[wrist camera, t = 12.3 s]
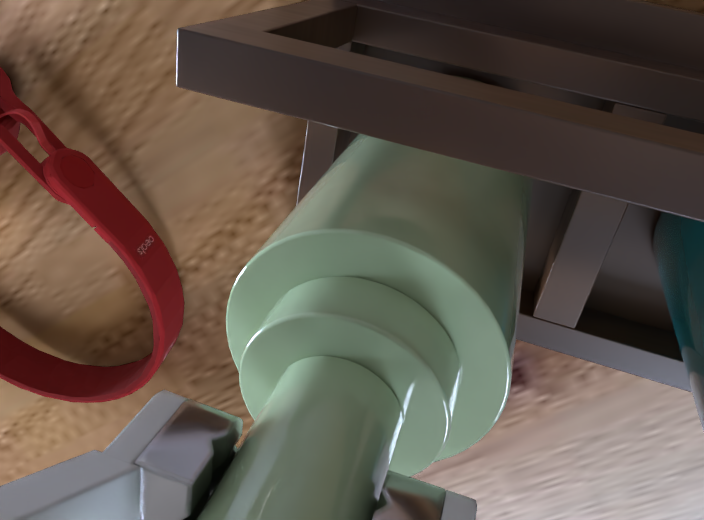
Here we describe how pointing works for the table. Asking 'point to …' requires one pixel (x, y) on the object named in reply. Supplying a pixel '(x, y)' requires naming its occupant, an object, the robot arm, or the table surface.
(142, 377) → the headphones
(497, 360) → the sage bottle
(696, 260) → the teal bottle
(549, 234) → the rack
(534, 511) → the table surface
